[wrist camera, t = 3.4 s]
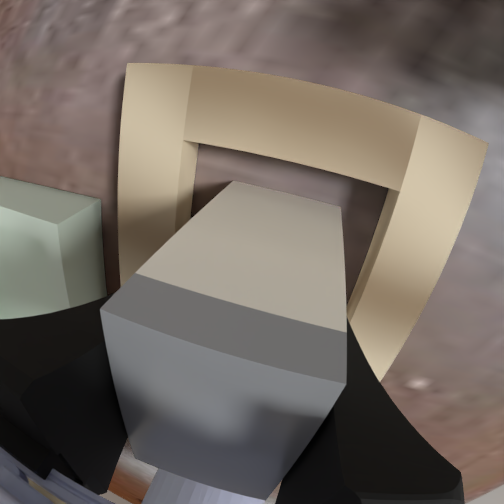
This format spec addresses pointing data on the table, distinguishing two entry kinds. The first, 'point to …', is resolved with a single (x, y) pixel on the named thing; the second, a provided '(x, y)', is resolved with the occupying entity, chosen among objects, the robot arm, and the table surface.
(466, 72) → the table surface
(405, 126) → the frame
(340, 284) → the block
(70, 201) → the tray
